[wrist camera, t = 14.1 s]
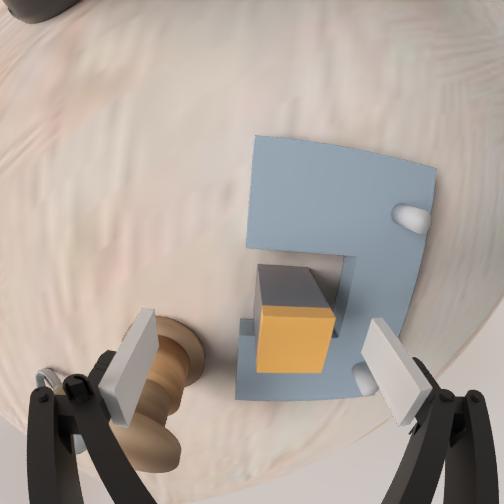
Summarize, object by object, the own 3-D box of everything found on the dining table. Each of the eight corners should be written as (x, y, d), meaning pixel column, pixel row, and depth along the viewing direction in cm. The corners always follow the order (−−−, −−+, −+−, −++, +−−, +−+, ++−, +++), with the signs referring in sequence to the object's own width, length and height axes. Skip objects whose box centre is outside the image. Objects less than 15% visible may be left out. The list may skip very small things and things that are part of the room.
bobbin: (119, 310, 23) (58, 395, 12) (205, 321, 24) (180, 426, 13) (131, 375, 26) (94, 459, 15) (205, 386, 26) (191, 482, 15)
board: (254, 138, 19) (257, 129, 14) (419, 167, 20) (460, 171, 15) (235, 381, 26) (234, 423, 21) (366, 379, 26) (383, 415, 21)
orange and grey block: (257, 264, 22) (263, 315, 15) (307, 267, 22) (335, 318, 15) (253, 309, 23) (256, 372, 16) (300, 311, 24) (321, 372, 16)
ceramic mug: (114, 404, 27) (92, 449, 20) (97, 427, 29) (79, 465, 22) (45, 352, 25) (12, 389, 18) (37, 382, 27) (11, 415, 20)
